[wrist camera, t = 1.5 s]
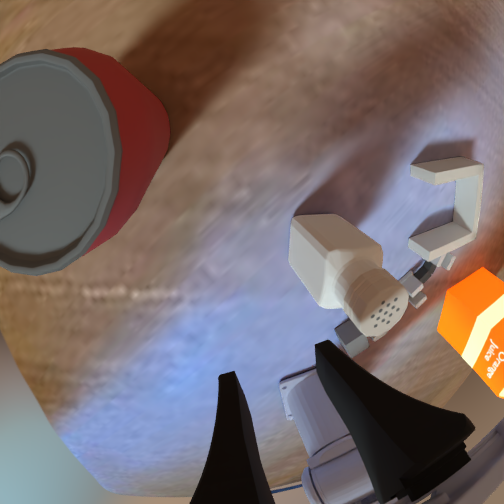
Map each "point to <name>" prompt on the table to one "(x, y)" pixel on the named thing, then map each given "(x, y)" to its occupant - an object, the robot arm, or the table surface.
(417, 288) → the clips
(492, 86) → the table surface
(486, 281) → the orange juice
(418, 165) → the end holder
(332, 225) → the pepper shaker
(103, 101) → the beer can
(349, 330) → the cable route
